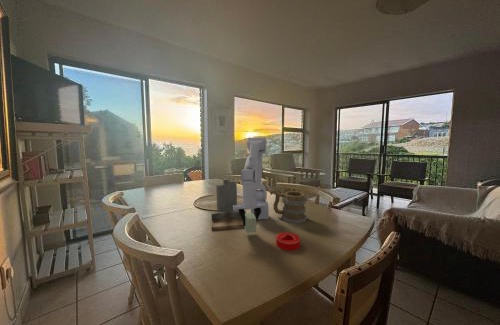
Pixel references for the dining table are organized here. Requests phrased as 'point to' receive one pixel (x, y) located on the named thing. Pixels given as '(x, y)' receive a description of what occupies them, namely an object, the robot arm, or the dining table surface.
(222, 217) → the cleat wall
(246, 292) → the dining table surface
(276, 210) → the tankard
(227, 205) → the hip flask
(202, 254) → the dining table surface
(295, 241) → the decorative ornament
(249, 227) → the mini cabinet
